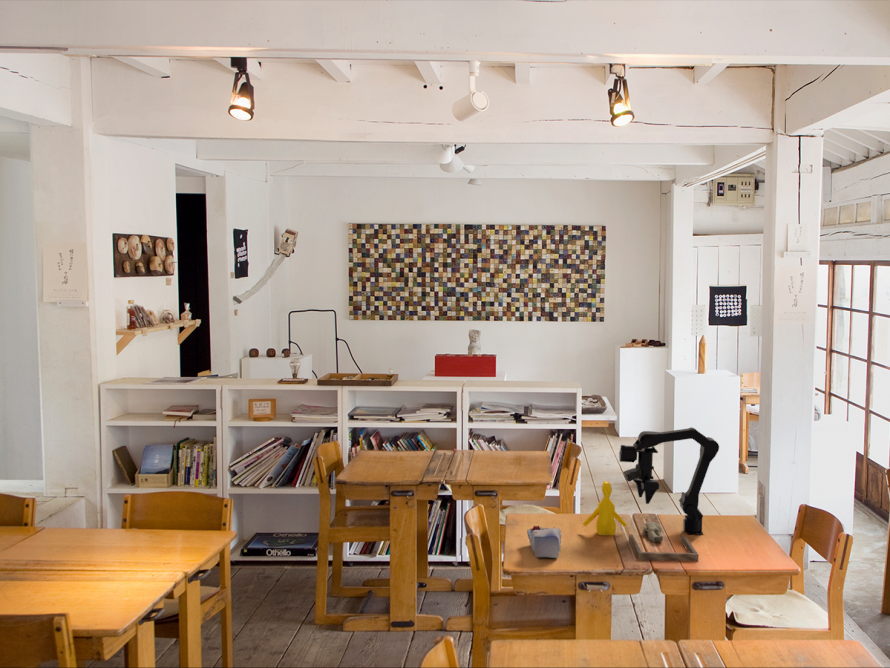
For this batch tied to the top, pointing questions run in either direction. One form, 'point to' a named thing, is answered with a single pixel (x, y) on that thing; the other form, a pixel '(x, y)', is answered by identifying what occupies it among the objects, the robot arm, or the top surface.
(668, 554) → the holder
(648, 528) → the sculpture
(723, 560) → the top surface
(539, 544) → the grey tapered container
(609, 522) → the figure statuette
